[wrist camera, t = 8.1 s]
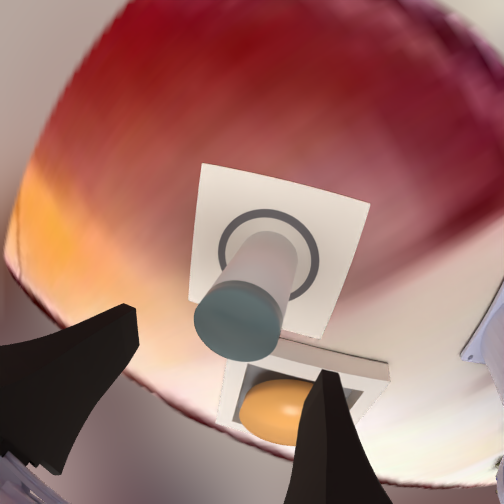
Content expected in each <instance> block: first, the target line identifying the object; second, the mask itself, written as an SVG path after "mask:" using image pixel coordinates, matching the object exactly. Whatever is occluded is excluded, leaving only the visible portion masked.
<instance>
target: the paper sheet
mask: <svg viewBox="0 0 504 504" xmlns="http://www.w3.org/2000/svg"><path fill="white" fill-rule="evenodd" d="M370 205H371V204H370V203H368V202H364V201H361V200H358V199H354V198H351V197H347V196H344V195H341V194H337V193H333V192H330V191H326V190H323V189H319V188H315V187H311V186H307V185H303V184H299V183H296V182H291V181H287V180H283V179H279V178H275V177H270V176H266V175H262V174H257V173H252V172H248V171H243V170H238V169H233V168H228V167H223V166H218V165H213V164H207V163H202V167H201V175H200V182H199V190H198V199H197V207H196V216H195V226H194V236H193V246H192V257H191V270H190V283H189V298H188V300H189V301H192V302H195V303H197V304H199V303H200V302H201V300H202V299H203V298H204V296H205V295H206V294H207V292H208V291H209V289H210V288H211V287H212V285H213V284H214V283H215V281H216V280H217V278H218V277H219V276H220V274H221V273H222V272H223V270H224V269H225V267H226V266H227V265H228V263H229V262H230V261H231V259H232V258H233V257H234V255H235V254H236V252H237V251H238V250H239V248H240V247H241V246H242V244H243V243H244V242H245V240H246V239H247V238H248V237H249V236H251V235H252V234H255V233H257V232H261V231H272V232H276V233H279V234H281V235H283V236H284V237H286V238H287V239H288V240H289V241H290V242H291V243H292V244H293V246H294V247H295V249H296V252H297V256H298V264H297V268H296V273H295V277H294V281H293V285H292V289H291V293H290V297H289V301H288V305H287V309H286V313H285V317H284V321H283V325H282V328H281V329H283V330H286V331H290V332H294V333H297V334H301V335H305V336H309V337H313V338H317V339H321V338H322V335H323V333H324V331H325V328H326V326H327V324H328V321H329V319H330V317H331V314H332V312H333V309H334V307H335V304H336V302H337V299H338V297H339V294H340V292H341V289H342V287H343V284H344V281H345V279H346V276H347V273H348V271H349V268H350V265H351V262H352V260H353V257H354V254H355V251H356V248H357V245H358V242H359V239H360V236H361V233H362V230H363V227H364V224H365V221H366V218H367V214H368V211H369V208H370Z"/></svg>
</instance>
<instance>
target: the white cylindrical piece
mask: <svg viewBox="0 0 504 504" xmlns="http://www.w3.org/2000/svg"><path fill="white" fill-rule="evenodd" d="M297 264H298V256H297V252H296V249H295V247H294V246H293V244H292V243H291V242H290V241H289V240H288V239H287V238H286V237H284V236H283V235H281V234H279V233H276V232H272V231H261V232H257V233H255V234H252V235H251V236H249V237H248V238H247V239H246V240H245V242H244V243H243V244H242V246H241V247H240V248H239V250H238V251H237V252H236V254H235V255H234V257H233V258H232V259H231V261H230V262H229V263H228V265H227V266H226V267H225V269H224V270H223V272H222V273H221V274H220V276H219V277H218V278H217V280H216V281H215V283H214V284H213V285H212V287H211V288H210V289H209V291H208V292H207V294H206V295H205V296H204V298H203V299H202V300H201V302H200V303H199V305H198V306H197V308H196V310H195V313H194V325H195V329H196V331H197V334H198V335H199V337H200V338H201V340H202V341H203V342H204V343H205V345H206V346H208V347H209V348H210V349H211V350H212V351H214V352H215V353H217V354H218V355H220V356H222V357H225V358H227V359H230V360H234V361H239V362H253V361H258V360H261V359H263V358H265V357H267V356H268V355H270V354H271V353H272V352H273V351H274V349H275V348H276V346H277V343H278V340H279V336H280V332H281V328H282V325H283V321H284V317H285V313H286V309H287V305H288V301H289V297H290V293H291V289H292V285H293V281H294V277H295V273H296V268H297Z"/></svg>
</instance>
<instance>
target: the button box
mask: <svg viewBox="0 0 504 504" xmlns="http://www.w3.org/2000/svg"><path fill="white" fill-rule="evenodd" d="M322 369H324V370H329V371H333V372H338V373H339V375H340V379H341V383H342V387H343V390H344V394H345V397H346V401H347V404H348V407H349V411H350V414H351V417H352V420H353V423H354V426H355V425H356V424H357V423H358V422H359V420H360V419H361V418H362V417H363V416H364V415H365V413H366V412H367V411H368V410H369V409H370V408H371V406H372V405H373V404H374V403H375V401H376V400H377V399H378V398H379V396H380V395H381V394H382V393H383V391H384V390H385V389H386V387H387V386H388V385H389V383H390V382H391V381H390V374H389V367H388V363H385V362H380V361H375V360H370V359H365V358H360V357H356V356H351V355H346V354H342V353H338V352H333V351H329V350H325V349H321V348H317V347H313V346H309V345H305V344H301V343H297V342H294V341H290V340H286V339H282V338H279V340H278V343H277V346H276V348H275V349H274V351H273V352H272V353H271V354H270V355H268V356H267V357H265V358H263V359H261V360H258V361H253V362H239V361H234V360H230V359H227V363H226V368H225V374H224V379H223V385H222V390H221V396H220V401H219V407H218V412H217V418H216V423H217V424H220V425H223V426H226V427H229V428H232V429H235V430H238V431H242V432H245V433H249V434H252V433H251V432H249V431H248V430H247V429H246V428H245V427H244V426H243V424H242V423H241V421H240V418H239V413H240V409H241V407H242V404H243V401H244V398H245V396H246V394H247V392H248V391H249V390H250V389H251V388H252V387H254V386H255V385H257V384H260V383H262V382H265V381H270V380H278V379H292V380H300V381H305V382H309V383H312V384H314V383H315V381H316V379H317V377H318V375H319V373H320V372H321V370H322ZM252 435H254V434H252Z"/></svg>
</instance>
